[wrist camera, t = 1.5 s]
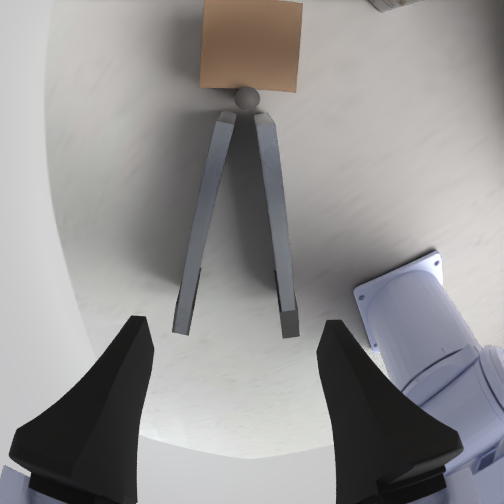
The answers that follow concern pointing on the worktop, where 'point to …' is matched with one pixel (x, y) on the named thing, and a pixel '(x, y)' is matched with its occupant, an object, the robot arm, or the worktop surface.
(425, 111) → the worktop surface
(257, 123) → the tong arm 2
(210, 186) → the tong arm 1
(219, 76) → the block
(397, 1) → the coffee box
